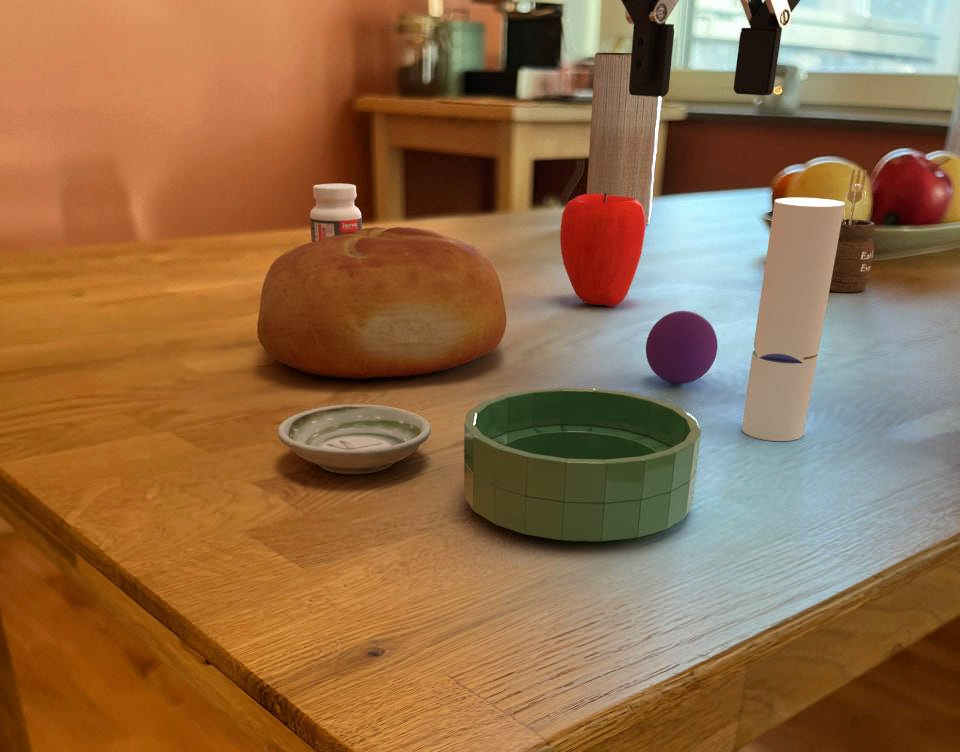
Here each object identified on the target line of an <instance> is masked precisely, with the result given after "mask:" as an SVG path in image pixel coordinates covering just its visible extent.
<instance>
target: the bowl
mask: <svg viewBox="0 0 960 752" xmlns="http://www.w3.org/2000/svg"><path fill="white" fill-rule="evenodd" d="M701 438H702V429H701V427H700V425H699V423H698V420H697V419H696V418H695V417H694V416H692V415H691V414H690V413H688V412H687V411H685V410H684V409H682V408H681V407H679V406H677V405H673V404H671V403H668V402H666V401H662V400H660V399H657V398H654V397H649V396H644V395H640V394H635V393H632V392H626V391H620V390H619V391H618V390H610V389H602V388H583V387H582V388H581V387H580V388H579V387H553V388H537V389H527V390H522V391H516V392H510V393H506V394H501V395H498V396H495V397H492V398H490V399H486V400H484V401H482V402H479V403H478V404H476V405H475V406H474V407H473V408H471V409H470V410H468V412H467V413H466V414H465V419H464V425H463V497H464V499H465V501H466V503H468V505H469V507H470V509H472V511H473V512H474V513H476V514H478V516H480V517H482V518H484V519H485V520H487V521H489V522H491V523H492V524H494V525H495V526H499V527H501V528H505V529H507V530H510V531H513V532H517V533H519V534H522V535H527V536H533V537H539V538H542V539H549V540H554V541H555V540H556V541H563V542H564V541H565V542H574V543H575V542H577V543H578V542H580V543H596V542H597V543H598V542H611V541H618V540H627V539H635V538H641V537H644V536H645V537H646V536H648V535H652V534H656V533H659V532H662V531H665V530H668V529H670V528H671V527H673V526H674V525H676V524H678V523H679V522H681V521H682V520H684V519H685V518H686V517H687V515H688V513H689V512H690V509H691V508H692V505H693V501H694V494H695V493H694V492H695V486H696V478H697V470H698V469H697V468H698V462H699V454H700V447H701Z"/></svg>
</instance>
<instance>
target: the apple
mask: <svg viewBox="0 0 960 752" xmlns="http://www.w3.org/2000/svg"><path fill="white" fill-rule="evenodd" d="M560 221H561V222H560V236H559V243H560V253H561V258H562V263H563V267H564V269H565V271H566V274H567V277H568V280H569V282H570V284H571V287H572V289H573V291H574V294H575V295H576V296H577V297H578V298H579V299H580V300H581V301H582V302H584V303H586V304H589V305H593V306H604V307H615V306H617V305H619V304H621V303H622V302H624V300H625V298H626V297H627V295H628V293H629V290H630V288H631V285H632V283H633V280H634V278H635V276H636V273H637V270H638V267H639V263H640V259H641V256H642V253H643V245H644V240H645V236H646V235H645V234H646V225H645V213H644V210H643V206H642V205H641V203H639V202H638V201H637V200H636V199H634V198H631V197H621V196H611V195H607V193H604V195H602V194H587V193H584V194H580V195H578V196H576V197H574V198H572V199H571V200H569V201H568V202H567V204H566V205H565V208H564V210H563V211H562V214H561V220H560Z"/></svg>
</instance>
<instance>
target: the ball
mask: <svg viewBox="0 0 960 752" xmlns="http://www.w3.org/2000/svg"><path fill="white" fill-rule="evenodd" d="M718 346H719V345H718V337H717V334H716V331H715V329H714V327H713V325H712V324H711V323H710V321H709V320H707V318H706V317H704V316H703V315H702V314H699V313H697V312H694V311H691V310H678V311H673V312H670V313H667V314H666V315H663V316H662V317H661V318H660V319H658V321H656V323H654V325H653V326H652V328H651V329H650V331H649V333H648V335H647V338H646V343H645V356H646V360H647V361H646V362H647V363H648V365H649V367H650V369H651V370H652V372H653V373H654V374H655V375H656V376H657V377H658V378H660V379H661V380H663V381H664V382H666V383H670V384H674V385H685V384H689V383H693V382H695V381H697V380H699V379H701V378H702V377H704V376H705V375H706V374H707V372H709V370H710V369H711V367H712V366H713V364H714V362H715V360H716V358H717V354H718Z"/></svg>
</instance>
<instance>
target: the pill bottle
mask: <svg viewBox="0 0 960 752" xmlns="http://www.w3.org/2000/svg"><path fill="white" fill-rule="evenodd" d="M312 193H313V195H312V196H313V198H314V200H315V206H314V207H312V208H311V210H310V213H309V225H310V238H311V242H315V241H318V240H321V239H325V238H328V237H331V236H336V235H341V234H349V233H352V234H353V233H355V232H357V231H359V230H362V229H363V218H362V212H361V211H360V209H359V207H358V206H356V205H355V200H356V198H357V196H358V195H357V186H356V185H355V184H351V183H322V184H315V185H313V186H312Z"/></svg>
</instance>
